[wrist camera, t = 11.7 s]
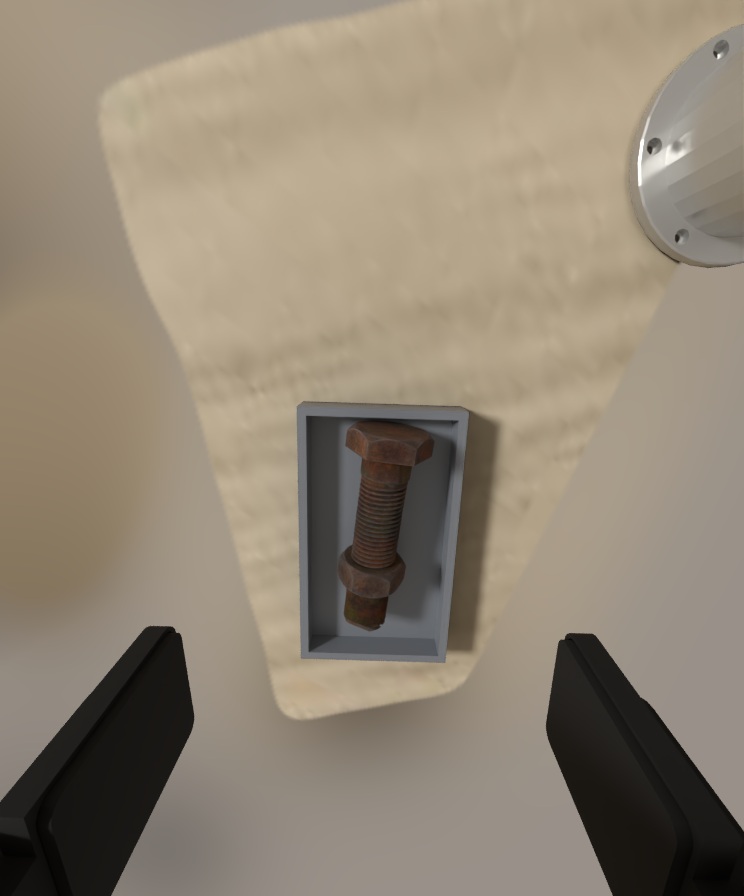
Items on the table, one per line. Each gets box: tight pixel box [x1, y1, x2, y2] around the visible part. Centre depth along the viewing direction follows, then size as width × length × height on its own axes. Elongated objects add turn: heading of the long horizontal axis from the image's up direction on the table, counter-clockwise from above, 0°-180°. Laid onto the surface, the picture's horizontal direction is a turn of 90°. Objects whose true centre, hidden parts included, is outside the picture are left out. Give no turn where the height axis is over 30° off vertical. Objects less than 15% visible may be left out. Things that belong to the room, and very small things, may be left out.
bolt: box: [337, 420, 435, 632], centre depth 27 cm, size 6×5×15 cm
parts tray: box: [297, 401, 469, 663], centre depth 29 cm, size 11×20×2 cm, turn 178°
